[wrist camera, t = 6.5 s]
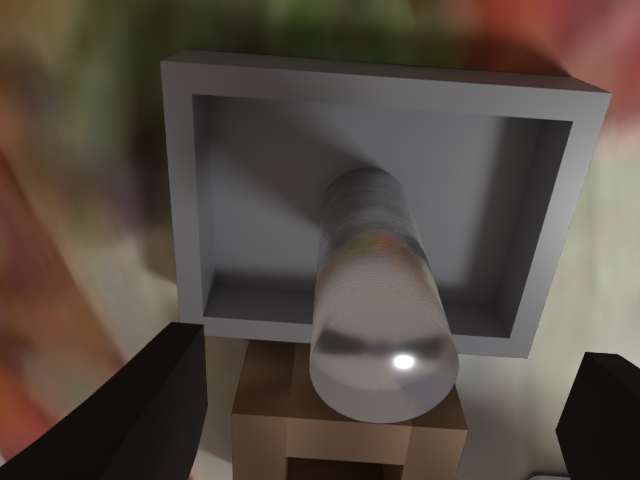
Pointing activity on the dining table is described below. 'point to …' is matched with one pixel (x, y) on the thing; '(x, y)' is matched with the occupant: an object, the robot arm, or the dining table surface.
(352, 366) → the pin
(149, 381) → the robot arm
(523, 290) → the tray
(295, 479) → the holder
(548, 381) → the dining table surface
